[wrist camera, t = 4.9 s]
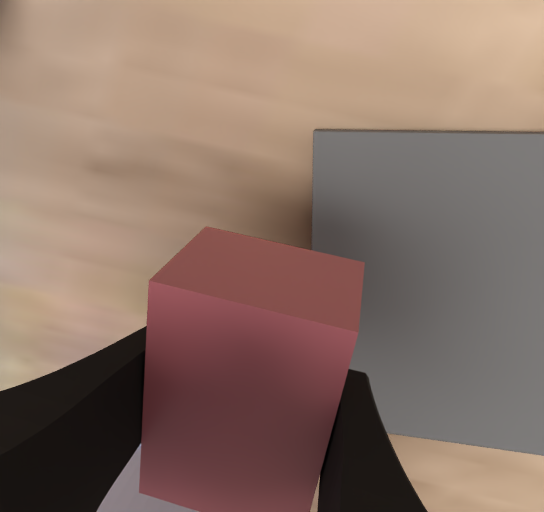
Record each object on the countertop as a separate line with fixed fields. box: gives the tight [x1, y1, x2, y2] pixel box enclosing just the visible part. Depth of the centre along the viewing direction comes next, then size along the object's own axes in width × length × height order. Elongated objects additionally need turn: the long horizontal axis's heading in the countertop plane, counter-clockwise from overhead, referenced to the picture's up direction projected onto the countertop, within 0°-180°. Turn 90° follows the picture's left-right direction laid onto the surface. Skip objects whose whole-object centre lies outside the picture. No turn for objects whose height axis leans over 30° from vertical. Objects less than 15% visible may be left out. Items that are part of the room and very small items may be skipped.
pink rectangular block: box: [139, 226, 365, 512], centre depth 12 cm, size 4×6×4 cm
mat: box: [312, 129, 544, 456], centre depth 19 cm, size 14×12×1 cm
